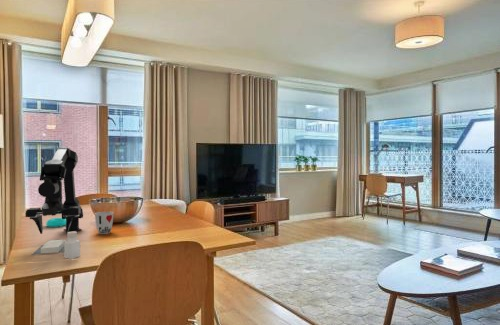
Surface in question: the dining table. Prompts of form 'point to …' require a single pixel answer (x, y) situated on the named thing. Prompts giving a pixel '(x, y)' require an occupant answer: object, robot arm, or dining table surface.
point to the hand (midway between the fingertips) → (54, 233)
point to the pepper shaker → (72, 246)
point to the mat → (46, 253)
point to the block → (52, 246)
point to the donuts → (56, 222)
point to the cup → (104, 221)
